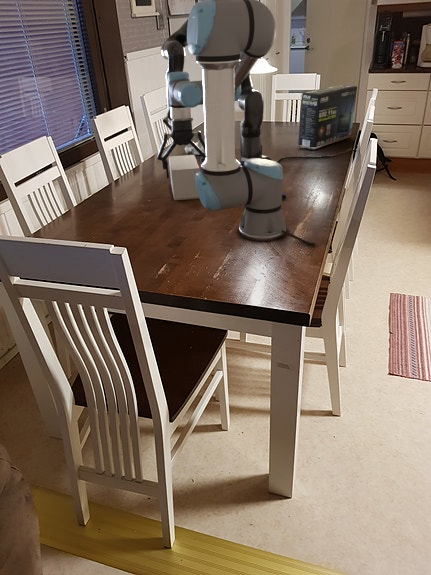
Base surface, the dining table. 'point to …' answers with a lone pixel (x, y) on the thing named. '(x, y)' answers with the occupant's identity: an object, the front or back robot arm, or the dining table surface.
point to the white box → (183, 176)
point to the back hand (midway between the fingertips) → (179, 141)
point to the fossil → (191, 149)
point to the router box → (326, 115)
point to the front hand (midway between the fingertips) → (185, 175)
